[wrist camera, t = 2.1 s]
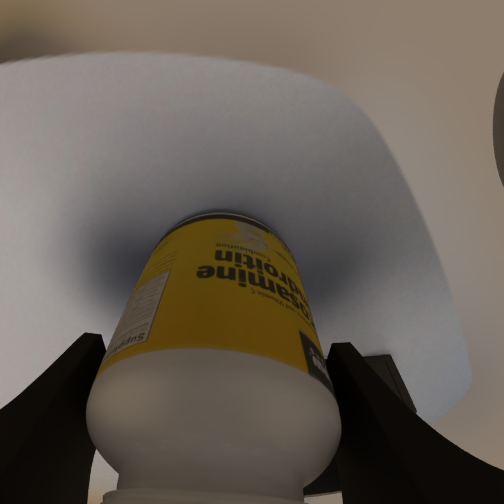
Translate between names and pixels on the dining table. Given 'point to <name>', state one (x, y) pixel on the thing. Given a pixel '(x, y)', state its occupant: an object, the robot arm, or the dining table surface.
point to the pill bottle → (215, 375)
